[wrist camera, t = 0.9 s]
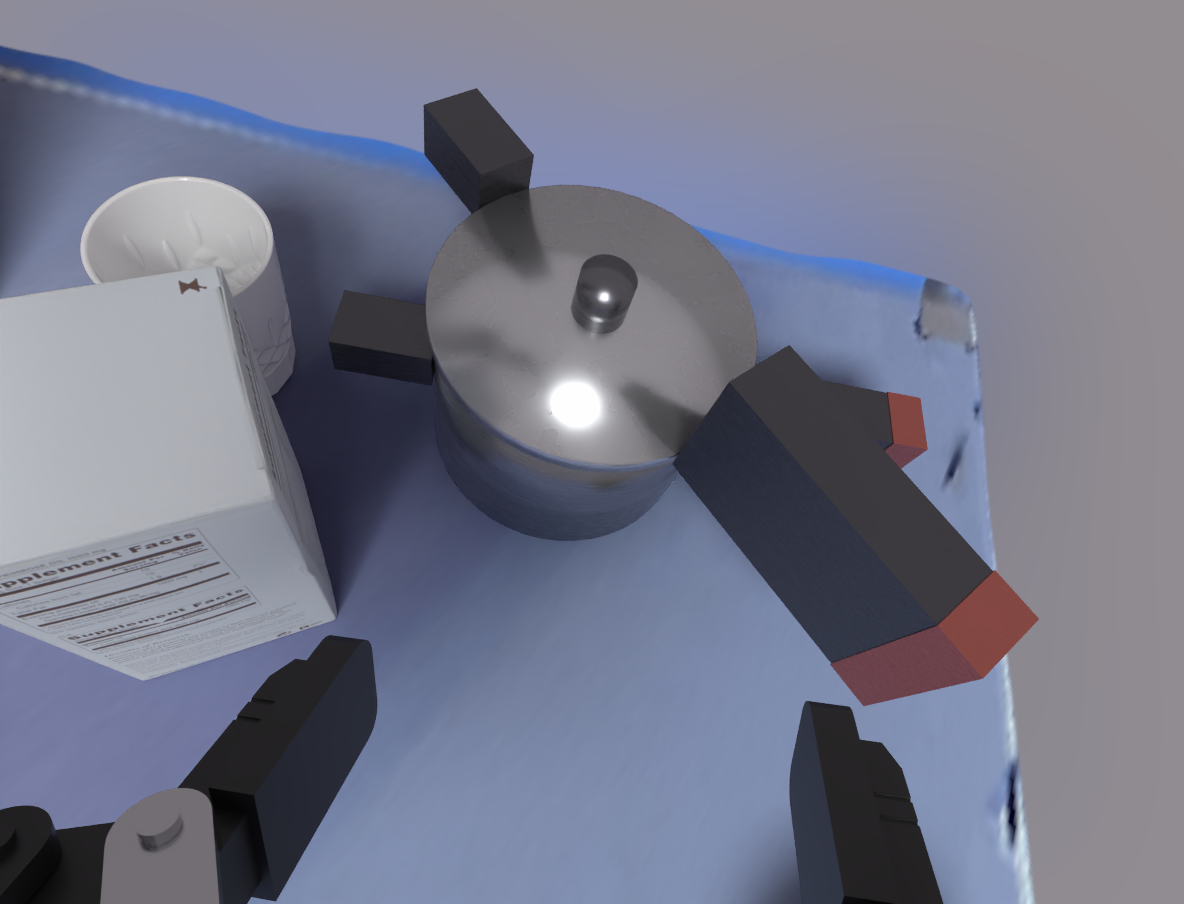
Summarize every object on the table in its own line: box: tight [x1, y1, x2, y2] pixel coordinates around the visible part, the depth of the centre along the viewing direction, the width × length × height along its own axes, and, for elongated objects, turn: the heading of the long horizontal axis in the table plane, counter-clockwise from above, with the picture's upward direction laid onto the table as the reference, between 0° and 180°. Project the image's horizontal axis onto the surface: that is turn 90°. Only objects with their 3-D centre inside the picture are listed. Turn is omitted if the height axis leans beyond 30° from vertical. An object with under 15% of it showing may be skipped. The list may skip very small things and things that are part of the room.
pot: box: [329, 290, 927, 541], centre depth 40 cm, size 27×23×10 cm
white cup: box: [80, 176, 296, 396], centre depth 37 cm, size 8×8×10 cm
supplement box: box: [0, 266, 337, 680], centre depth 29 cm, size 10×9×17 cm
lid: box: [424, 89, 1038, 706], centre depth 30 cm, size 33×16×7 cm, turn 37°
